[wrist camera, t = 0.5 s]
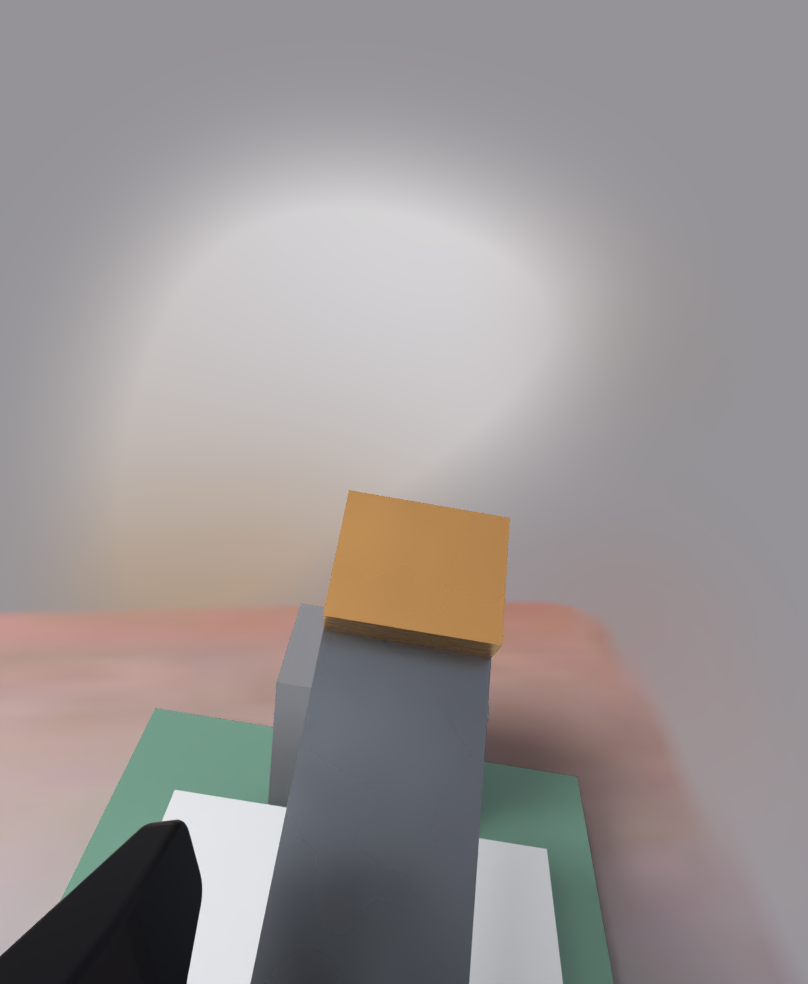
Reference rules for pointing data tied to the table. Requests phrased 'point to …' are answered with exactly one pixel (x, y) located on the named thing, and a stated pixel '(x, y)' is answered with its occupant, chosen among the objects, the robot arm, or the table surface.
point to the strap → (391, 754)
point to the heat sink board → (249, 780)
